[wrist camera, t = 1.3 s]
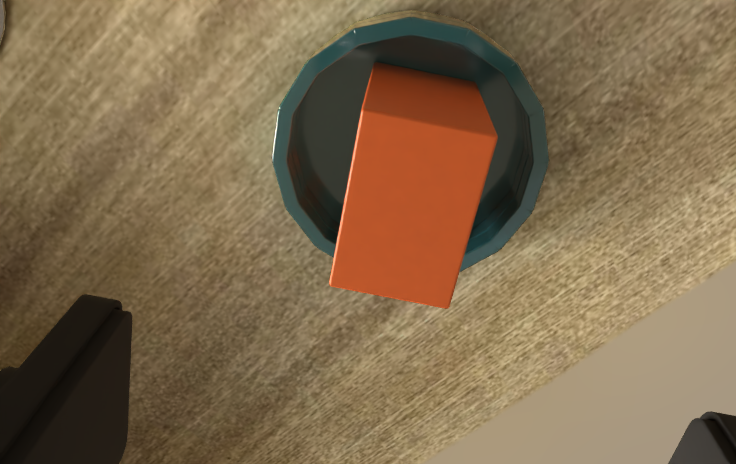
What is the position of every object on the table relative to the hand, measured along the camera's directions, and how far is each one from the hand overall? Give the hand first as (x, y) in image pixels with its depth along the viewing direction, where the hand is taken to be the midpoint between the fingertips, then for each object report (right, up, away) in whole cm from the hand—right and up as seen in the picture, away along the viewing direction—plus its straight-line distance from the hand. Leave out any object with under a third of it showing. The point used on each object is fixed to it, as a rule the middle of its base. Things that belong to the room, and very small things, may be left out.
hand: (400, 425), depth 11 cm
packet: (+1, +7, +15) cm, 17 cm away
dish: (+1, +7, +16) cm, 17 cm away
